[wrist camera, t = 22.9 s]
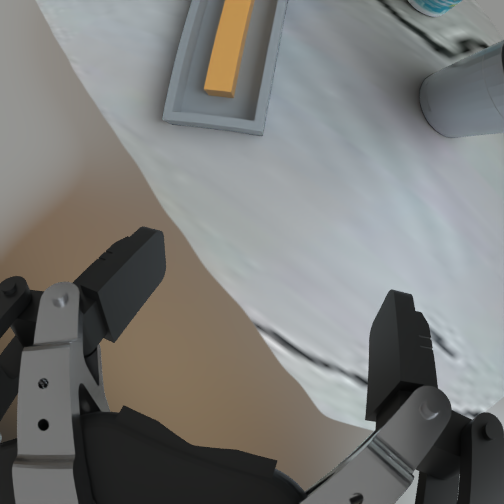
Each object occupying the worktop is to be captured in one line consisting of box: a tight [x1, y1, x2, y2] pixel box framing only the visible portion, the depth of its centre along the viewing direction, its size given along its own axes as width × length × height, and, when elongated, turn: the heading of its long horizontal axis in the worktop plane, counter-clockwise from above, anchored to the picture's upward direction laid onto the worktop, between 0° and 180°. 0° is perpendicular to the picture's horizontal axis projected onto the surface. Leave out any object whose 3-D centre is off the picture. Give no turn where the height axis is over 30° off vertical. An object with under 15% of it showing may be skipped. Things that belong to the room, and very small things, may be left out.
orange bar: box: [204, 0, 255, 98], centre depth 28 cm, size 24×3×3 cm, turn 170°
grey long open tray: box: [162, 0, 288, 136], centre depth 28 cm, size 34×11×4 cm, turn 170°
